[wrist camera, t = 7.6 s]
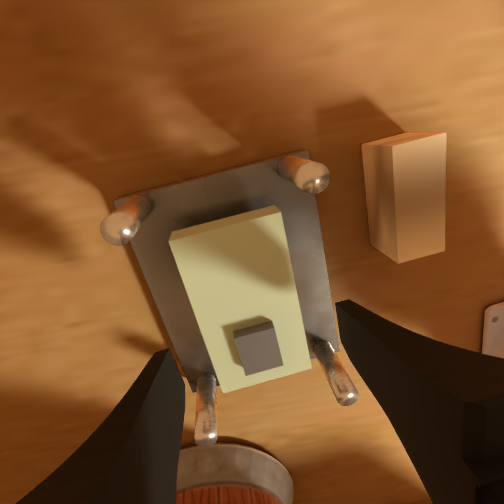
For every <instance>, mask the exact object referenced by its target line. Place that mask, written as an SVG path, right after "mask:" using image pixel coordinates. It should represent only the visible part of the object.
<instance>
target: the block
mask: <svg viewBox="0 0 504 504" xmlns="http://www.w3.org/2000/svg"><path fill="white" fill-rule="evenodd" d="M446 135H447V132H406V133H402V134H399V135H395V136H391V137H387V138H383V139H379V140H375V141H372V142H368V143H364V144H361V146H362V157H363V169H364V180H365V191H366V202H367V214H368V225H369V236H370V245H372V246H373V247H374V248H376V249H377V250H379V251H380V252H382V253H383V254H385V255H386V256H388V257H389V258H390V259H392V260H393V261H395V262H396V263H398V264H399V263H403V262H407V261H410V260H414V259H418V258H421V257H425V256H428V255H432V254H436V253H439V252H443V251H445V207H446Z"/></svg>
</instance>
